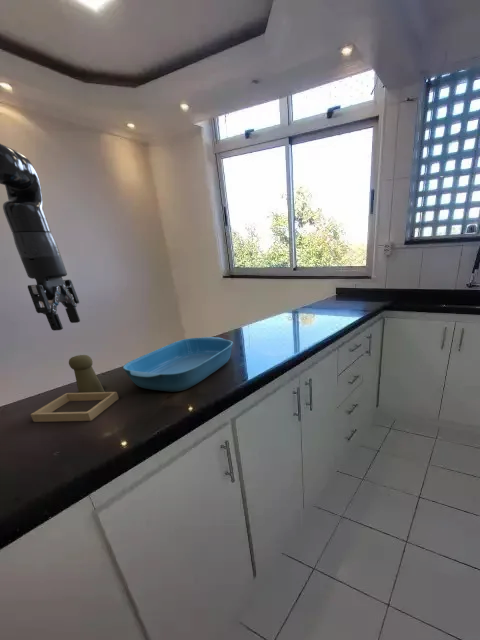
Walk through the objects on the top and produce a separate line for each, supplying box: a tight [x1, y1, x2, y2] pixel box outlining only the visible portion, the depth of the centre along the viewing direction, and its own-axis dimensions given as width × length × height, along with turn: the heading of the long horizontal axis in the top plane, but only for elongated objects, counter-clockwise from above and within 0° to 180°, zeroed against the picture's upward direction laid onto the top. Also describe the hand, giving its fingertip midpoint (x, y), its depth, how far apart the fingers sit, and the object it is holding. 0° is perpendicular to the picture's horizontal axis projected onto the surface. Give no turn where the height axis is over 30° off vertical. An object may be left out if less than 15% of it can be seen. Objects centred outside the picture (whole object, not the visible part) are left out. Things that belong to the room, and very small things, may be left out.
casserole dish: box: [122, 336, 234, 393], centre depth 96 cm, size 37×22×7 cm, turn 163°
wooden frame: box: [29, 391, 119, 423], centre depth 76 cm, size 14×12×3 cm
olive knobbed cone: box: [68, 354, 106, 393], centre depth 84 cm, size 6×6×11 cm
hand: (67, 326), depth 78 cm, fingers open, 8 cm apart
